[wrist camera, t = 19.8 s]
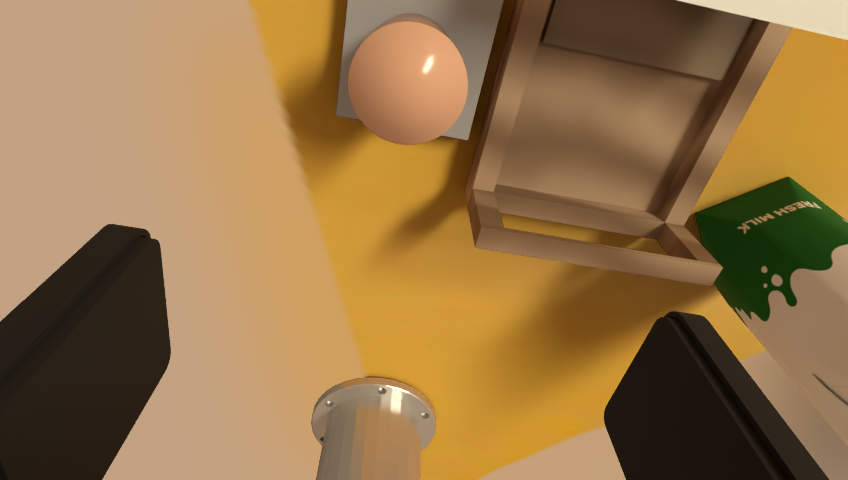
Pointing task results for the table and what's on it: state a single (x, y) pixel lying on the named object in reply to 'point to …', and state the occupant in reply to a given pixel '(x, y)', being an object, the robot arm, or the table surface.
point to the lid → (790, 13)
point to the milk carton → (788, 285)
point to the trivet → (461, 21)
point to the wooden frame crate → (614, 127)
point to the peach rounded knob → (408, 80)
